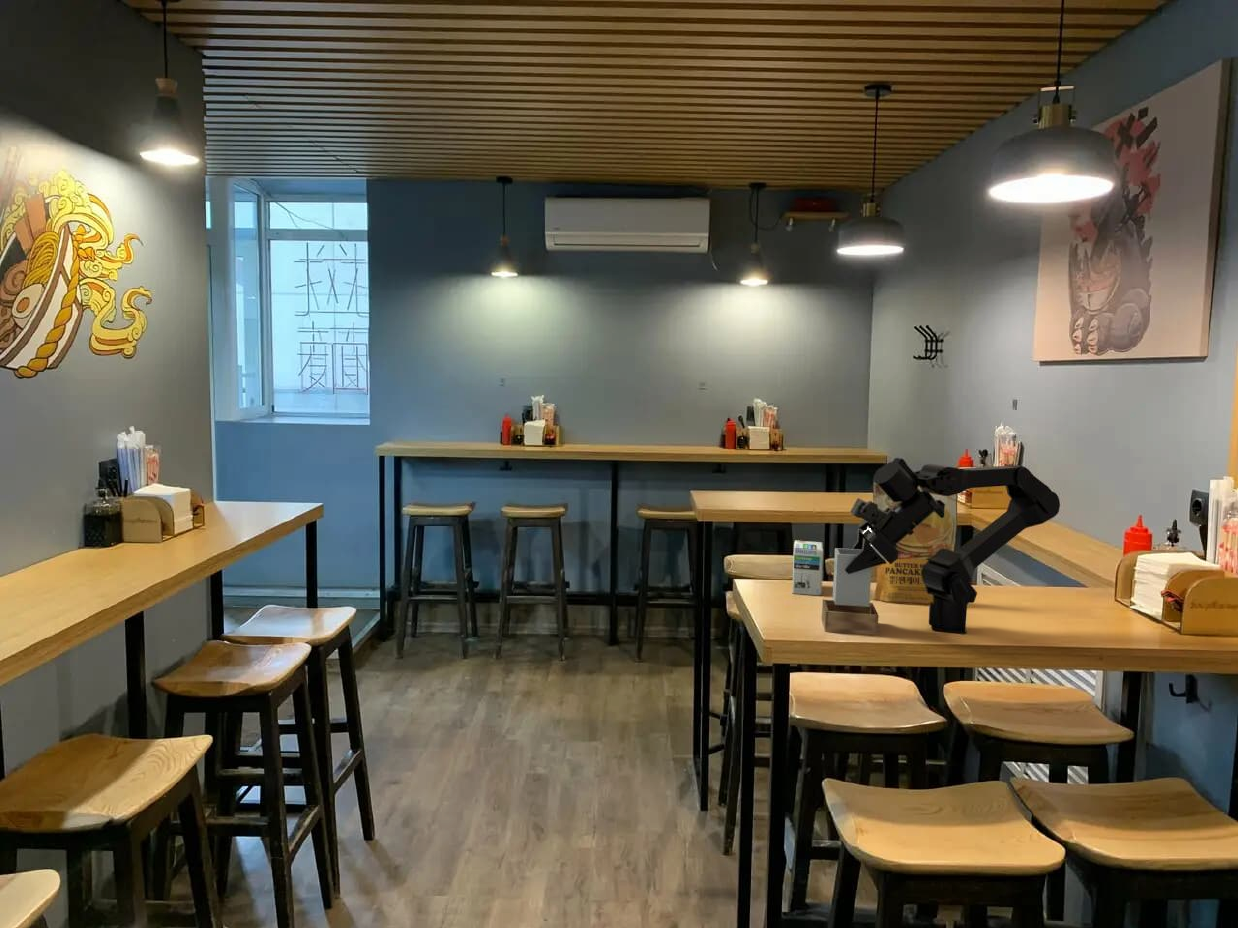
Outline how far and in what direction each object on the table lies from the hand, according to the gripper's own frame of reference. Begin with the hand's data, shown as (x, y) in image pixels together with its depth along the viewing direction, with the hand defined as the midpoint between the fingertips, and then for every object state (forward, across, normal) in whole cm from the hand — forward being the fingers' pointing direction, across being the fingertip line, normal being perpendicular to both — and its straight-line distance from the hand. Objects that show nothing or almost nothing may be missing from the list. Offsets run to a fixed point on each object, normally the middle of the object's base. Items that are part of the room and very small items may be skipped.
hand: (845, 568), depth 178 cm
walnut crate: (+7, 0, +9) cm, 12 cm away
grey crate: (+4, 0, +6) cm, 7 cm away
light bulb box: (+12, -30, +5) cm, 33 cm away
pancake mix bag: (-3, -26, +21) cm, 33 cm away
